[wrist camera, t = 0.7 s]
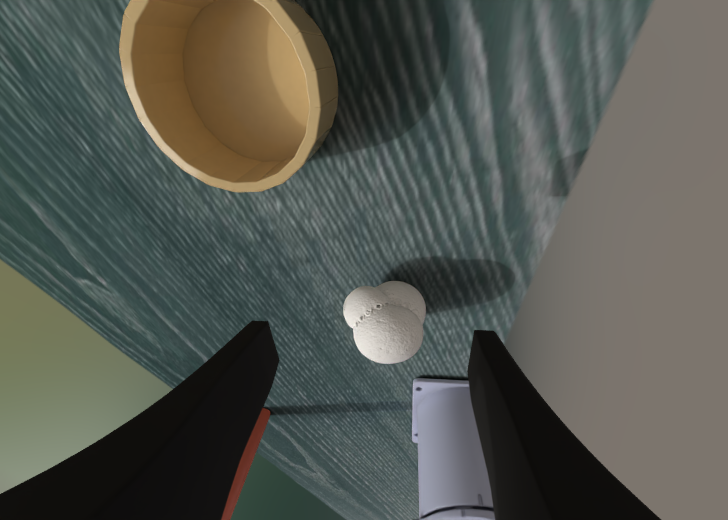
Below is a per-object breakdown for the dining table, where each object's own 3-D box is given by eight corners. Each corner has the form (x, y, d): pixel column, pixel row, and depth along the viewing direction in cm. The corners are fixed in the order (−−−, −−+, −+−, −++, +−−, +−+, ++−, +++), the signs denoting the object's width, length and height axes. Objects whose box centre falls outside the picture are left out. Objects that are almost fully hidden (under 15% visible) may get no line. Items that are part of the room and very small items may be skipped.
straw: (272, 416, 33) (219, 555, 24) (259, 415, 33) (202, 552, 24) (269, 408, 32) (213, 548, 23) (256, 407, 33) (195, 546, 24)
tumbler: (346, 164, 18) (332, 190, 15) (211, 169, 19) (169, 194, 16) (326, -29, 14) (300, -55, 10) (152, -8, 15) (78, -25, 11)
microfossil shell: (409, 324, 24) (409, 389, 19) (341, 305, 24) (324, 365, 19) (432, 279, 22) (438, 340, 17) (356, 256, 21) (341, 313, 17)
